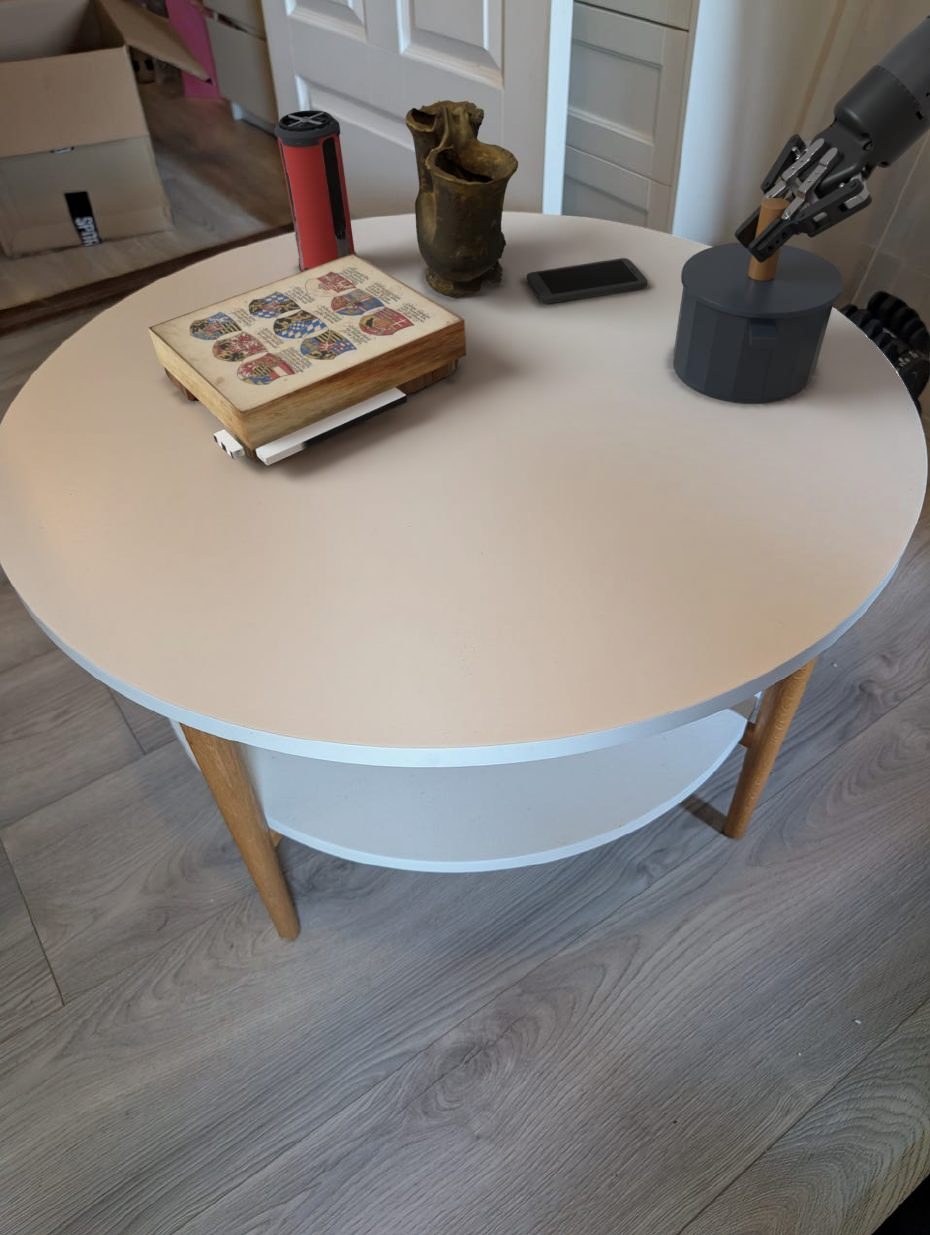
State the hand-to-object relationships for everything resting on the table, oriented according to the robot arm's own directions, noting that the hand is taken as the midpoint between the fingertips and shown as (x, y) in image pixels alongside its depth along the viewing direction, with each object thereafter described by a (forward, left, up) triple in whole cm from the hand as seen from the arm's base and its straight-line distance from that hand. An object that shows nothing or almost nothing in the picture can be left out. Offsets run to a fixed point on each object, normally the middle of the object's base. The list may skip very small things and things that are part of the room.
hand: (747, 248), depth 85 cm
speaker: (+50, -21, -13) cm, 56 cm away
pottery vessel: (+32, -20, -13) cm, 40 cm away
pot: (-2, -1, -13) cm, 13 cm away
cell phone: (+16, -19, -13) cm, 28 cm away
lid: (-2, -1, -4) cm, 4 cm away
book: (+44, +7, -13) cm, 47 cm away
